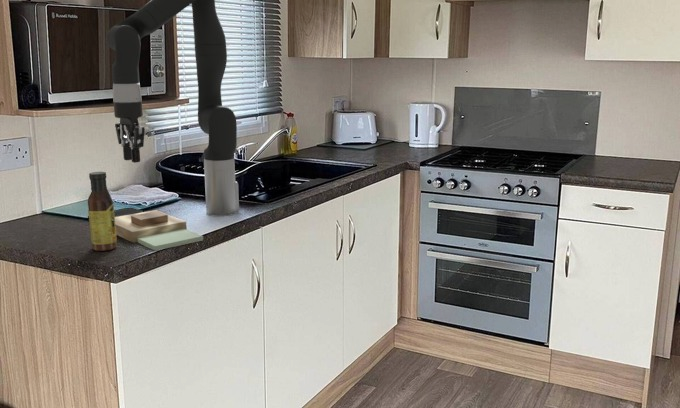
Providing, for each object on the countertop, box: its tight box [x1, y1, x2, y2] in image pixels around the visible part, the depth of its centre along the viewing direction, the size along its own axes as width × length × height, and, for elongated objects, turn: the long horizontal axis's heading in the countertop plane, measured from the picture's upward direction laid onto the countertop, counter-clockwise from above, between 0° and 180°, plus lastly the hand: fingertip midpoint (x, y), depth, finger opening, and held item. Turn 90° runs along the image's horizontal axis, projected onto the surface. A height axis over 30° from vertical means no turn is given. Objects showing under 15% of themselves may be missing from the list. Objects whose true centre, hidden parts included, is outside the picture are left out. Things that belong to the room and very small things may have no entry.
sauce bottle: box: [87, 171, 118, 252], centre depth 175 cm, size 6×6×20 cm
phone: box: [87, 207, 143, 219], centre depth 210 cm, size 8×1×15 cm
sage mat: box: [137, 229, 204, 251], centre depth 183 cm, size 14×10×1 cm
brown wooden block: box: [131, 210, 169, 227], centre depth 190 cm, size 8×6×2 cm
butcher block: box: [115, 209, 188, 244], centre depth 193 cm, size 16×18×3 cm
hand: (131, 160), depth 193 cm, fingers open, 4 cm apart
